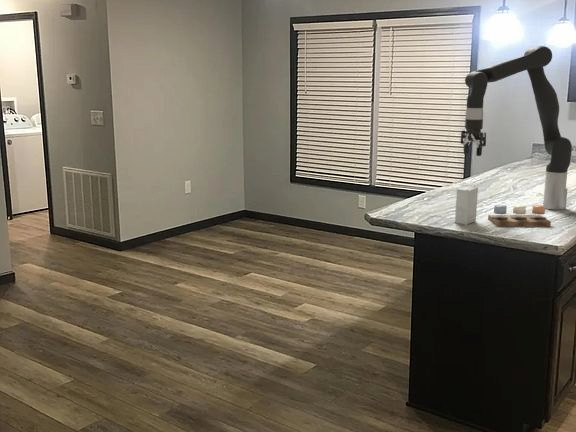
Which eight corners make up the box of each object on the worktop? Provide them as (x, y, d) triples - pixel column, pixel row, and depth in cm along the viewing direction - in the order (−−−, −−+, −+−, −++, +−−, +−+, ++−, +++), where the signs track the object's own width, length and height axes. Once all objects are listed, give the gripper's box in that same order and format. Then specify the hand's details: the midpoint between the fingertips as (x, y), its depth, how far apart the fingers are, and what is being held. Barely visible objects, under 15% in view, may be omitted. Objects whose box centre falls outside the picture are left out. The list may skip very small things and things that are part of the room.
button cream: (523, 211, 278) (523, 204, 278) (527, 214, 273) (527, 207, 273) (511, 211, 278) (511, 204, 278) (515, 214, 274) (515, 207, 273)
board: (539, 219, 283) (540, 214, 282) (550, 226, 270) (551, 220, 270) (487, 219, 283) (487, 214, 283) (496, 226, 271) (496, 220, 270)
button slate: (504, 211, 279) (504, 204, 278) (507, 214, 274) (508, 207, 273) (492, 211, 279) (492, 204, 278) (495, 214, 274) (496, 207, 273)
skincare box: (463, 219, 283) (465, 185, 280) (476, 221, 279) (478, 187, 276) (454, 222, 277) (455, 188, 274) (467, 225, 273) (469, 189, 270)
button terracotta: (542, 211, 278) (542, 204, 277) (546, 214, 273) (547, 207, 273) (530, 211, 278) (530, 204, 278) (534, 214, 273) (534, 207, 273)
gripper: (492, 118, 284) (489, 156, 288) (470, 117, 297) (468, 152, 300) (478, 119, 281) (476, 157, 285) (457, 117, 294) (455, 153, 297)
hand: (472, 154), depth 293 cm, fingers open, 8 cm apart
